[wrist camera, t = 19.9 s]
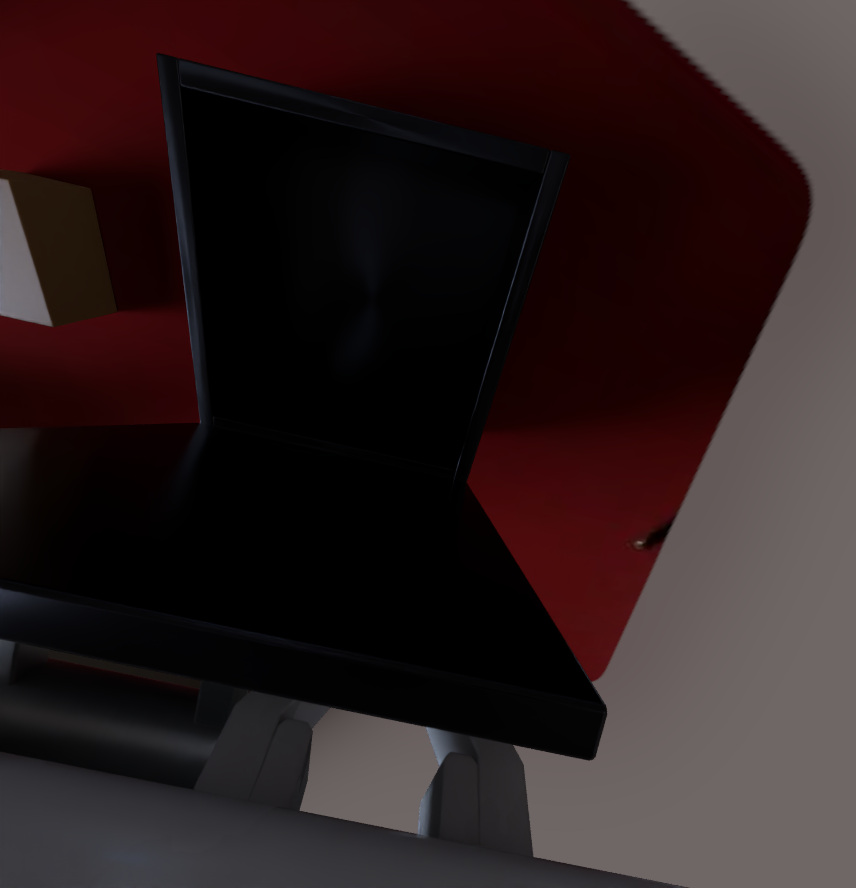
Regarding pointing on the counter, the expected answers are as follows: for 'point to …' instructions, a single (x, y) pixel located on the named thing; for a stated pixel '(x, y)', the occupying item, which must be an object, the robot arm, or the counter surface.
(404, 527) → the lid
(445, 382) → the black square open box
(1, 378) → the counter surface
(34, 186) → the packet
